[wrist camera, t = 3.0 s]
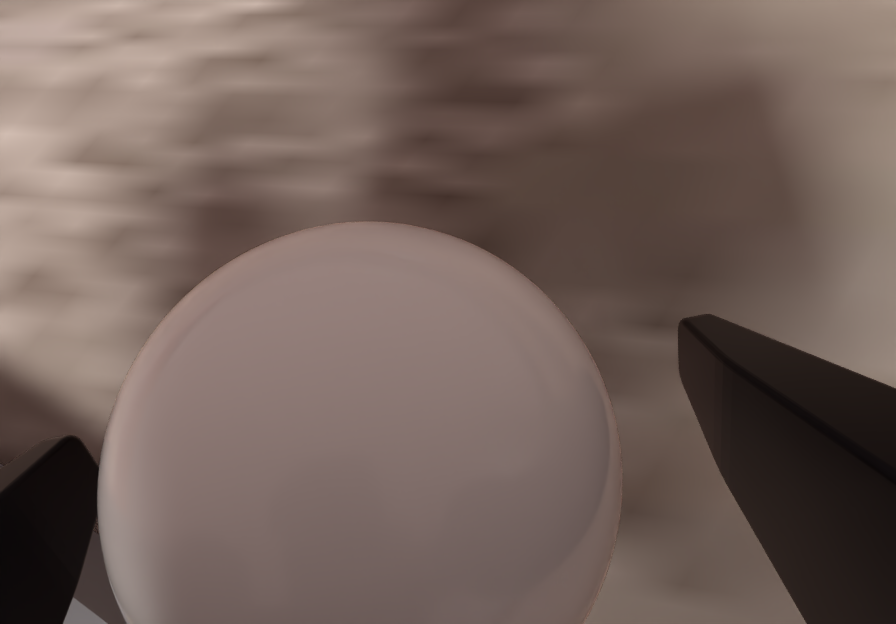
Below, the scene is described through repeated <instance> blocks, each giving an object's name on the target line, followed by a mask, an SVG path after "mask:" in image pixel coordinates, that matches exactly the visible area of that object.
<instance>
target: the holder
mask: <svg viewBox="0 0 896 624" xmlns="http://www.w3.org/2000/svg"><path fill="white" fill-rule="evenodd" d="M2 467H3V465H2V464H1V463H0V468H2ZM63 624H126V622H125V620H124V617H123V615H122V613H121V611H120V609H119V606H118V604H117V602H116V599H115V597H114V594H113V591H112V588H111V585H110V582H109V579H108V575H107V572H106V568H105V564H104V560H103V555H102V550H101V544H100V538H99V534H98V533H96V532H95V531H94V530H93V534H92V537H91V541H90V544H89V548H88V552H87V555H86V559H85V562H84V566H83V569H82V573H81V576H80V579H79V582H78V585H77V588H76V591H75V594H74V597H73V599H72V602H71V605H70V607H69V610H68V612H67V615H66V617H65V620H64V623H63Z"/></svg>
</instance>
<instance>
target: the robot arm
mask: <svg viewBox="0 0 896 624" xmlns="http://www.w3.org/2000/svg"><path fill="white" fill-rule="evenodd" d="M678 361H679V373H680V378H681V381H682V384H683V386H684V389H685V391H686V393H687V396H688V398H689V400H690V403H691V405H692V407H693V410H694V412H695V415H696V417H697V419H698V422H699V424H700V426H701V429H702V431H703V434H704V436H705V438H706V441H707V443H708V445H709V448H710V450H711V452H712V455H713V457H714V459H715V462H716V464H717V466H718V468H719V471H720V473H721V475H722V476H723V478H724V480H725V482H726V484H727V486H728V488H729V489H730V491H731V493H732V495H733V496H734V498H735V500H736V502H737V503H738V505H739V507H740V509H741V510H742V512H743V514H744V516H745V517H746V519H747V521H748V522H749V524H750V526H751V528H752V529H753V531H754V533H755V535H756V536H757V538H758V540H759V542H760V543H761V545H762V547H763V549H764V550H765V552H766V554H767V556H768V557H769V559H770V561H771V562H772V564H773V566H774V568H775V569H776V571H777V573H778V575H779V576H780V578H781V580H782V582H783V583H784V585H785V587H786V589H787V590H788V592H789V594H790V596H791V597H792V599H793V601H794V602H795V604H796V606H797V608H798V609H799V611H800V613H801V615H802V616H803V618H804V620H805V622H806V623H807V624H896V388H894V387H891V386H889V385H886V384H884V383H881V382H879V381H876V380H874V379H871V378H869V377H866V376H864V375H861V374H859V373H856V372H854V371H851V370H849V369H846V368H844V367H841V366H839V365H836V364H834V363H831V362H829V361H826V360H824V359H821V358H819V357H816V356H814V355H811V354H809V353H806V352H804V351H801V350H799V349H796V348H794V347H792V346H789V345H787V344H784V343H782V342H779V341H777V340H774V339H772V338H769V337H767V336H764V335H762V334H759V333H757V332H754V331H752V330H749V329H747V328H744V327H742V326H739V325H737V324H734V323H732V322H729V321H727V320H724V319H722V318H719V317H717V316H714V315H711V314H703V315H698V316H693V317H688V318H684V319H682V320H681V321H680V322H679V325H678ZM98 472H99V466H98V465H97V463H96V462H95V460H94V459H93V457H92V455H91V454H90V452H89V451H88V449H87V448H86V446H85V445H84V443H83V442H82V441H81V440H80V439H79V438H78V437H76V436H73V435H66V436H61V437H55V438H50V439H46V440H44V441H42V442H40V443H39V444H37V445H36V446H34V447H33V448H31V449H29V450H28V451H26V452H25V453H23V454H22V455H20V456H19V457H17V458H16V459H14V460H12V461H11V462H9V463H8V464H6V465H5V466H3V467H2V468H0V624H63V623H64V620H65V617H66V615H67V612H68V610H69V607H70V605H71V602H72V599H73V597H74V594H75V591H76V588H77V585H78V582H79V579H80V576H81V573H82V569H83V566H84V562H85V559H86V555H87V552H88V548H89V544H90V541H91V537H92V534H93V530H94V526H95V523H96V519H97V484H98Z"/></svg>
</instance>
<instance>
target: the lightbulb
mask: <svg viewBox="0 0 896 624" xmlns="http://www.w3.org/2000/svg"><path fill="white" fill-rule="evenodd" d="M622 488H623V474H622V456H621V447H620V439H619V434H618V428H617V423H616V419H615V415H614V411H613V407H612V404H611V400H610V398H609V395H608V392H607V389H606V386H605V384H604V381H603V379H602V376H601V374H600V372H599V369H598V367H597V365H596V363H595V361H594V359H593V357H592V355H591V353H590V352H589V350H588V348H587V347H586V345H585V343H584V342H583V340H582V338H581V337H580V335H579V334H578V332H577V331H576V330H575V328H574V327H573V325H572V324H571V323H570V321H569V320H568V319H567V318H566V316H565V315H564V314H563V313H562V311H561V310H560V309H559V308H558V307H557V306H556V305H555V303H554V302H553V301H552V300H551V299H550V298H549V297H548V296H547V295H546V294H545V293H544V292H543V291H542V290H541V289H540V288H539V287H537V286H536V285H535V284H534V283H533V282H532V281H531V280H529V279H528V278H527V277H526V276H524V275H523V274H522V273H521V272H519V271H518V270H517V269H515V268H514V267H512V266H511V265H509V264H508V263H506V262H505V261H503V260H502V259H500V258H499V257H497V256H495V255H493V254H492V253H490V252H488V251H486V250H484V249H482V248H480V247H478V246H476V245H474V244H472V243H470V242H467V241H465V240H462V239H460V238H457V237H454V236H452V235H449V234H446V233H443V232H439V231H436V230H432V229H428V228H424V227H419V226H414V225H408V224H402V223H394V222H380V221H356V222H342V223H334V224H328V225H322V226H317V227H312V228H308V229H304V230H300V231H296V232H293V233H290V234H287V235H284V236H281V237H278V238H276V239H273V240H270V241H268V242H266V243H263V244H261V245H259V246H257V247H255V248H253V249H251V250H249V251H247V252H245V253H243V254H241V255H239V256H238V257H236V258H234V259H233V260H231V261H229V262H228V263H226V264H225V265H223V266H222V267H220V268H219V269H217V270H216V271H214V272H213V273H212V274H210V275H209V276H207V277H206V278H205V279H204V280H202V281H201V282H200V283H199V284H198V285H196V286H195V287H194V288H193V289H192V290H191V291H190V292H188V293H187V294H186V295H185V296H184V297H183V298H182V299H181V300H180V301H179V302H178V303H177V304H176V305H175V306H174V307H173V308H172V309H171V311H170V312H169V313H168V314H167V315H166V316H165V317H164V319H163V320H162V321H161V322H160V323H159V325H158V326H157V327H156V329H155V330H154V331H153V333H152V334H151V335H150V337H149V338H148V340H147V341H146V343H145V344H144V345H143V347H142V349H141V350H140V352H139V353H138V355H137V357H136V358H135V360H134V362H133V364H132V366H131V367H130V369H129V371H128V373H127V375H126V377H125V379H124V381H123V383H122V386H121V388H120V390H119V392H118V395H117V397H116V400H115V403H114V405H113V408H112V411H111V414H110V417H109V421H108V424H107V428H106V432H105V436H104V440H103V445H102V450H101V456H100V462H99V472H98V484H97V519H98V530H99V538H100V544H101V550H102V555H103V560H104V564H105V568H106V572H107V575H108V579H109V582H110V585H111V588H112V591H113V594H114V597H115V599H116V602H117V604H118V606H119V609H120V611H121V613H122V615H123V617H124V620H125V622H126V624H584V622H585V621H586V619H587V617H588V615H589V614H590V612H591V610H592V608H593V605H594V603H595V601H596V599H597V597H598V595H599V592H600V590H601V588H602V585H603V583H604V580H605V577H606V575H607V572H608V568H609V565H610V562H611V559H612V555H613V551H614V548H615V543H616V538H617V534H618V528H619V522H620V515H621V506H622Z"/></svg>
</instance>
